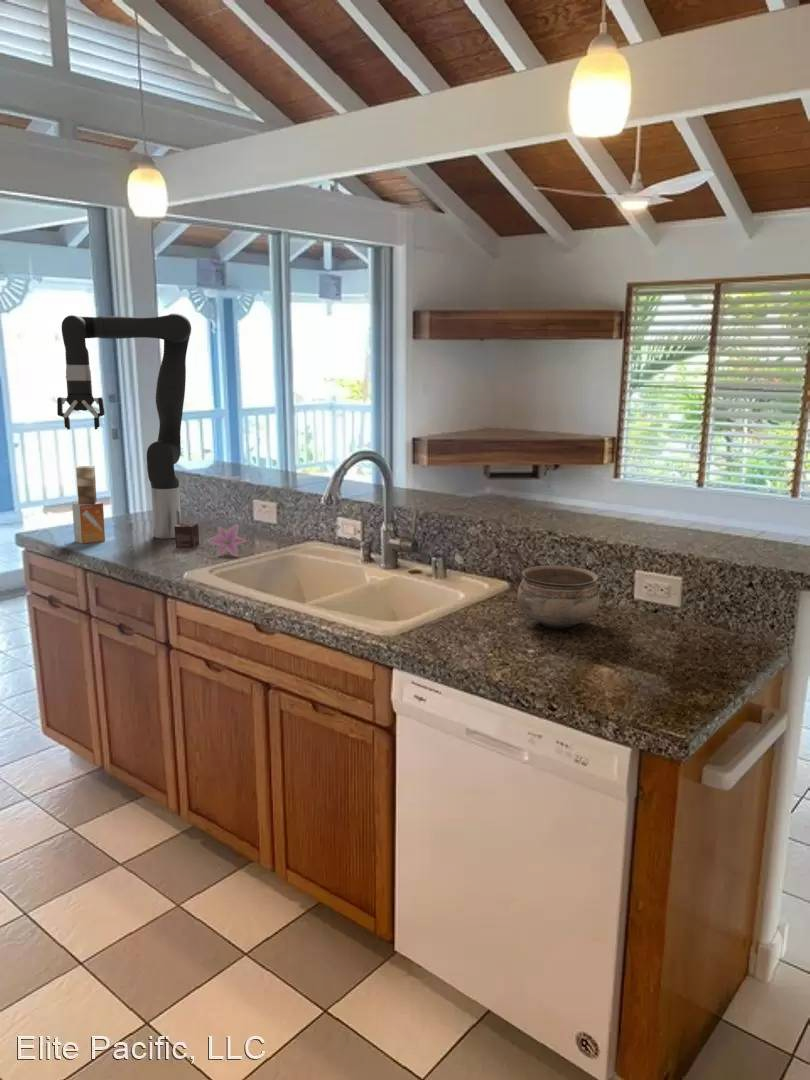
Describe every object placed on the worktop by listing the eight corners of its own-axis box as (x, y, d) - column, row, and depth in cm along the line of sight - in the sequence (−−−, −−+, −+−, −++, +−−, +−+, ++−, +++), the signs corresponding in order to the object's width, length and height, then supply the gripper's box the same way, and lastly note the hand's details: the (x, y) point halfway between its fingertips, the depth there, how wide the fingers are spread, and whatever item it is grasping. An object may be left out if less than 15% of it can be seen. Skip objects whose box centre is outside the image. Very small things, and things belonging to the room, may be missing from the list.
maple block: (95, 483, 270) (94, 466, 268) (93, 486, 265) (92, 467, 264) (79, 484, 269) (78, 466, 267) (77, 486, 264) (75, 468, 263)
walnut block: (96, 501, 271) (95, 483, 270) (94, 504, 266) (93, 486, 265) (80, 501, 270) (79, 484, 269) (78, 504, 265) (77, 486, 264)
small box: (82, 544, 266) (79, 505, 263) (74, 541, 270) (71, 503, 267) (105, 540, 271) (103, 502, 268) (98, 537, 276) (95, 500, 273)
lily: (203, 556, 256) (202, 535, 250) (223, 537, 263) (223, 517, 258) (232, 570, 253) (232, 549, 247) (252, 550, 261) (252, 530, 255)
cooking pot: (551, 605, 205) (554, 558, 202) (619, 621, 192) (622, 572, 189) (492, 627, 187) (494, 576, 184) (562, 647, 174) (565, 593, 172)
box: (199, 544, 268) (198, 523, 266) (193, 548, 262) (192, 526, 260) (182, 544, 268) (181, 522, 267) (175, 548, 262) (174, 526, 261)
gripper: (103, 379, 267) (106, 428, 270) (57, 378, 264) (61, 428, 267) (100, 379, 260) (103, 430, 263) (53, 379, 256) (57, 430, 260)
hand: (82, 429), depth 265 cm, fingers open, 8 cm apart
